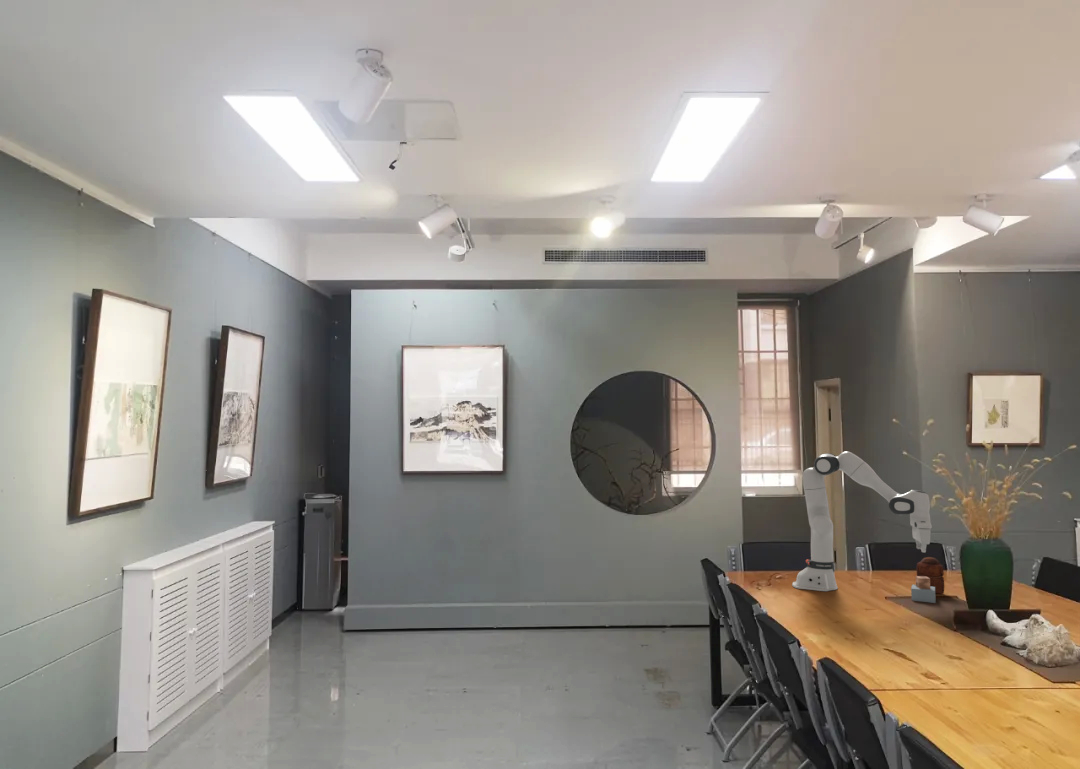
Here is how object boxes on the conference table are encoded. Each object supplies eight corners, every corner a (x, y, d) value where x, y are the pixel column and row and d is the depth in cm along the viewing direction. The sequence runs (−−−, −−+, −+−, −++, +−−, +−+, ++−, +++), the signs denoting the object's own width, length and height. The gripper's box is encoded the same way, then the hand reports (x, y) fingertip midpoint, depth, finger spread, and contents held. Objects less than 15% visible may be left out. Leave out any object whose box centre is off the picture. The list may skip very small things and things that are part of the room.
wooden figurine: (941, 591, 342) (940, 556, 343) (945, 594, 336) (943, 558, 337) (916, 590, 346) (914, 555, 347) (919, 593, 340) (917, 557, 341)
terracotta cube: (919, 588, 326) (918, 578, 326) (915, 586, 330) (915, 576, 331) (930, 589, 324) (929, 578, 325) (927, 586, 329) (926, 576, 330)
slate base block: (911, 600, 325) (911, 588, 326) (912, 596, 334) (912, 584, 334) (935, 603, 320) (934, 591, 320) (935, 599, 328) (935, 586, 329)
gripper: (908, 519, 340) (909, 546, 339) (917, 525, 321) (918, 553, 320) (922, 520, 338) (923, 547, 337) (932, 525, 319) (933, 554, 318)
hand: (921, 550), depth 329 cm, fingers open, 8 cm apart
